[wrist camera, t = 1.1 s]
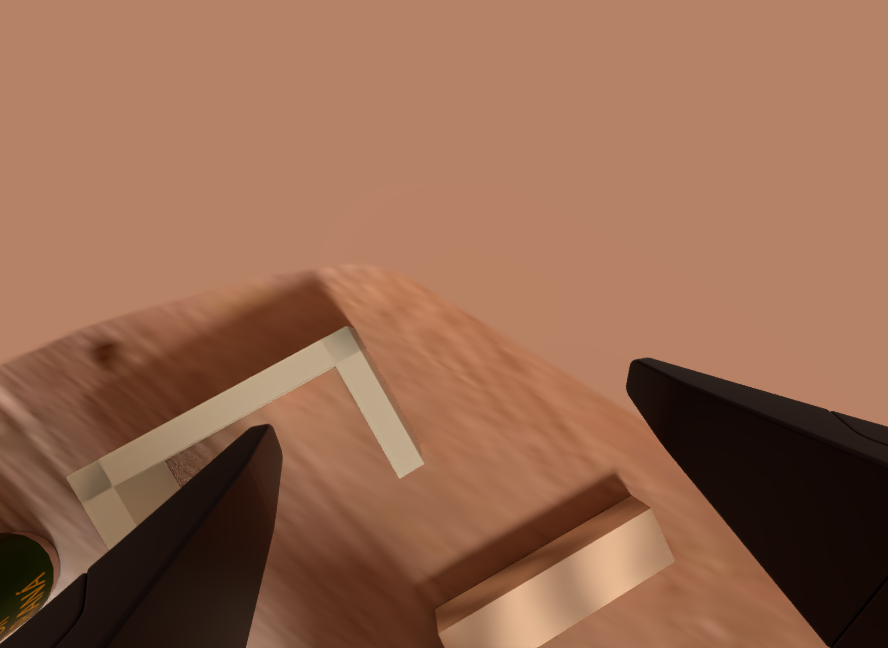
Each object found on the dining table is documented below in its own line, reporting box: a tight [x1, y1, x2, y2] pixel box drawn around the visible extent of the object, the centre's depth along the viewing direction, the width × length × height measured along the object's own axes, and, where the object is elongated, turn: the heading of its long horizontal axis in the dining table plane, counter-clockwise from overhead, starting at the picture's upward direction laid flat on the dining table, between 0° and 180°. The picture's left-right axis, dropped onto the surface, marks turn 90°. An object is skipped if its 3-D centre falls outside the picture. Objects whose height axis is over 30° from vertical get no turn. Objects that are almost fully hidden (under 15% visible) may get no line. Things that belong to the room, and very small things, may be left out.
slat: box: [435, 495, 675, 648], centre depth 24 cm, size 16×4×2 cm, turn 114°
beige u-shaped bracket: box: [66, 326, 424, 550], centre depth 21 cm, size 9×16×4 cm, turn 119°
